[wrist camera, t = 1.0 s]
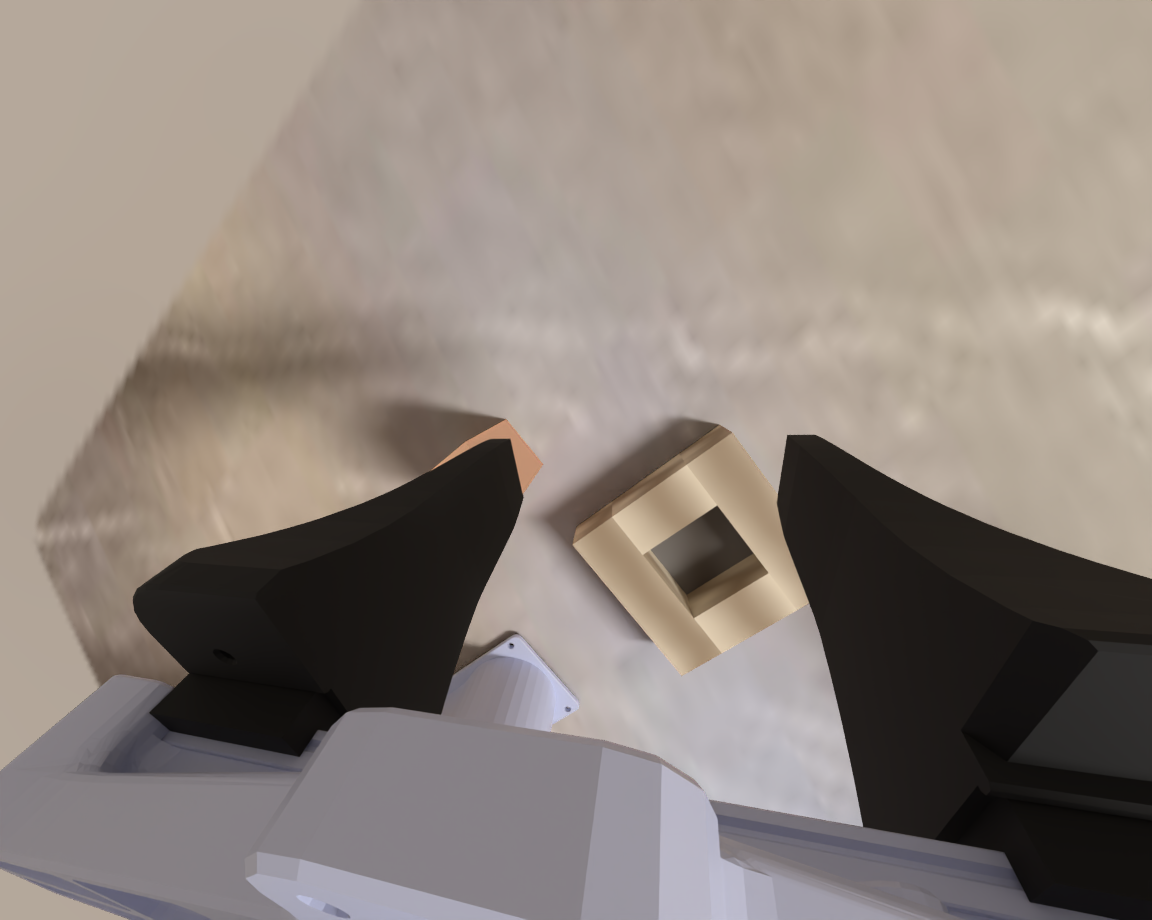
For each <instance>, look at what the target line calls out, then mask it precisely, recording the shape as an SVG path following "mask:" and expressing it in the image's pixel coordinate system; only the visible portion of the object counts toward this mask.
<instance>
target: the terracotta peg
mask: <svg viewBox="0 0 1152 920" xmlns="http://www.w3.org/2000/svg"><path fill="white" fill-rule="evenodd" d="M489 439H511V443H512V448H513V452H514V457H515V461H516V466H517V470H518V475H519V479H520V484H521V488H522V493H524V492H525V490H526V489H527V487H528V486H529V484H530V483H531V482H532V480H533V479H534V477H535V476H536V474H537V473H538V471H539V470H540V468H541V467H542V465H543V464H542V462H541V461H540V460H539V459H538V457H537V456H536V455H535V454H534V453H533V451H532V450H531V449H530V448H529V446H528V445H527V444H526V443H525V442H524V440H523V439H522V438H521V437H520V435H519V434H518V433H517V432H516V431H515V429H514V428H513V427H512V426H511V424H510V423H509V422H508V421H507V420H504V421H502V422H500V423H498V424H497V425H495V426H493V427H491V428H489V429H488V430H486V431H484V432H482V433H480V434H478V435H477V436H475V437H473V438H471V439H469V440H468V441H466V442H464V443H463V444H462V445H461V446H460V447H458V448H457V449H456V450H455V451H454V452H452V453H451V454H450V455H449V456H448V457H446V458H445V459H444V460H443V461H441V462H440V463H439V464H438V465H437V466H435V467H434V468H433V469H435V468H437V467H438V466H440V465H442V464H444V463H445V462H447V461H449V460H451V459H452V458H454V457H456V456H458V455H459V454H461V453H463V452H465V451H467V450H468V449H470V448H472V447H474V446H476V445H478V444H480V443H482V442H484V441H486V440H489ZM433 469H432V470H433Z"/></svg>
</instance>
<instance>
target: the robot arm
mask: <svg viewBox="0 0 1152 920" xmlns="http://www.w3.org/2000/svg"><path fill="white" fill-rule="evenodd" d="M523 498H524V497H523V493H522V488H521V484H520V479H519V475H518V470H517V466H516V461H515V457H514V452H513V448H512V443H511V439H489V440H486V441H484V442H482V443H480V444H478V445H476V446H474V447H472V448H470V449H468V450H467V451H465V452H463V453H461V454H459V455H458V456H456V457H454V458H452V459H451V460H449V461H447V462H445V463H444V464H442V465H440V466H438V467H437V468H435V469H433V470H431V471H429V472H427V473H425V474H423V475H421V476H420V477H418V478H416V479H414V480H412V481H410V482H408V483H406V484H404V485H402V486H400V487H398V488H396V489H394V490H392V491H390V492H388V493H385V494H383V495H381V496H378V497H376V498H374V499H371V500H369V501H367V502H364V503H362V504H359V505H357V506H354V507H351V508H348V509H345V510H343V511H340V512H337V513H334V514H331V515H329V516H326V517H323V518H320V519H317V520H314V521H311V522H307V523H304V524H301V525H297V526H294V527H290V528H287V529H283V530H279V531H276V532H272V533H268V534H264V535H260V536H256V537H251V538H247V539H242V540H238V541H233V542H228V543H224V544H219V545H215V546H210V547H205V548H200V549H196V550H193V551H191V552H189V553H187V554H185V555H183V556H182V557H181V558H179V559H178V560H176V561H175V562H174V563H172V564H171V565H169V566H168V567H167V568H165V569H164V570H162V571H161V572H160V573H158V574H157V575H155V576H154V577H153V578H151V579H150V580H148V581H147V582H146V583H144V584H143V585H142V586H140V587H139V588H137V590H136V592H135V594H134V596H133V605H134V611H135V613H136V615H137V617H138V618H139V620H140V622H141V623H142V624H143V626H144V627H145V628H146V629H147V630H148V632H149V633H150V634H151V635H152V636H153V637H154V638H155V639H156V640H157V641H158V642H159V643H160V644H161V645H162V646H163V647H164V648H165V649H166V650H167V651H168V652H169V653H170V654H171V655H172V656H173V657H174V658H175V659H176V660H177V662H178V663H179V664H180V665H181V666H182V667H183V668H184V669H185V670H186V671H187V672H188V673H189V674H188V675H187V676H186V677H185V678H184V679H183V680H182V681H181V682H180V683H179V684H178V685H177V686H176V687H175V688H174V687H172V686H170V685H168V684H166V683H165V682H162V681H158V680H154V679H148V678H142V677H135V676H129V675H123V674H119V675H114V676H112V677H111V678H110V679H109V680H108V681H107V682H105V683H104V684H103V685H102V686H101V687H99V688H98V689H97V690H96V691H95V692H94V693H92V694H91V695H90V696H89V697H88V698H86V699H85V700H84V701H83V702H82V703H80V704H79V705H78V706H77V707H76V708H74V709H73V710H72V711H71V712H70V713H68V714H67V715H66V716H65V717H64V718H63V719H61V720H60V721H59V722H58V723H57V724H55V725H54V726H53V727H52V728H51V729H49V730H48V731H47V732H46V733H45V734H43V735H42V736H41V737H40V738H39V739H37V740H36V741H35V742H34V743H33V744H32V745H30V746H29V747H28V748H27V749H26V750H24V751H23V752H22V753H21V754H20V755H18V756H17V757H16V758H15V759H14V760H13V761H11V762H10V763H9V764H8V765H7V766H6V767H4V768H3V769H2V770H1V771H0V869H2V870H4V871H7V872H9V873H11V874H13V875H16V876H18V877H20V878H22V879H25V880H27V881H29V882H31V883H34V884H36V885H38V886H40V887H43V888H45V889H47V890H49V891H52V892H54V893H56V894H59V895H62V896H65V897H68V898H71V899H73V900H77V901H79V902H82V903H85V904H88V905H91V906H93V907H96V908H99V909H102V910H104V911H107V912H110V913H113V914H115V915H118V916H121V917H124V918H127V919H129V920H1152V579H1150V578H1147V577H1143V576H1140V575H1137V574H1133V573H1130V572H1127V571H1123V570H1120V569H1117V568H1113V567H1110V566H1106V565H1103V564H1100V563H1096V562H1093V561H1090V560H1087V559H1084V558H1081V557H1078V556H1075V555H1072V554H1069V553H1066V552H1063V551H1060V550H1057V549H1054V548H1051V547H1048V546H1045V545H1043V544H1040V543H1037V542H1034V541H1032V540H1029V539H1026V538H1023V537H1020V536H1018V535H1015V534H1012V533H1009V532H1007V531H1004V530H1002V529H999V528H997V527H994V526H991V525H989V524H986V523H984V522H982V521H979V520H977V519H975V518H972V517H970V516H968V515H965V514H963V513H961V512H958V511H956V510H954V509H951V508H949V507H947V506H945V505H943V504H940V503H938V502H936V501H934V500H932V499H930V498H928V497H926V496H924V495H922V494H920V493H918V492H916V491H914V490H912V489H910V488H908V487H906V486H904V485H903V484H901V483H899V482H897V481H895V480H893V479H891V478H890V477H888V476H886V475H884V474H883V473H881V472H879V471H877V470H875V469H874V468H872V467H870V466H869V465H867V464H865V463H864V462H862V461H860V460H859V459H857V458H855V457H854V456H852V455H850V454H849V453H847V452H845V451H844V450H842V449H840V448H839V447H837V446H835V445H833V444H832V443H830V442H828V441H827V440H825V439H823V438H821V437H819V436H817V435H787V441H786V447H785V453H784V460H783V466H782V472H781V479H780V485H779V491H778V498H777V507H778V512H779V517H780V522H781V526H782V531H783V535H784V538H785V541H786V544H787V547H788V549H789V552H790V555H791V557H792V560H793V563H794V565H795V568H796V570H797V573H798V575H799V578H800V581H801V583H802V586H803V588H804V591H805V594H806V596H807V599H808V601H809V604H810V606H811V609H812V612H813V614H814V617H815V620H816V623H817V626H818V629H819V632H820V636H821V640H822V643H823V647H824V651H825V655H826V659H827V663H828V667H829V670H830V674H831V678H832V683H833V687H834V691H835V695H836V699H837V704H838V708H839V712H840V716H841V720H842V725H843V730H844V734H845V739H846V743H847V748H848V753H849V757H850V762H851V767H852V771H853V776H854V781H855V786H856V791H857V797H858V802H859V807H860V812H861V817H862V823H863V827H859V826H854V825H848V824H843V823H837V822H831V821H826V820H820V819H815V818H809V817H803V816H798V815H792V814H787V813H781V812H775V811H770V810H764V809H759V808H753V807H747V806H742V805H736V804H731V803H725V802H719V801H714V800H708V797H707V795H706V793H705V791H704V790H703V789H702V788H701V787H700V786H699V785H698V783H697V782H696V781H695V780H694V779H693V778H691V777H689V776H688V775H686V774H685V773H683V772H682V771H680V770H679V769H677V768H675V767H674V766H672V765H671V764H669V763H668V762H666V761H664V760H663V759H661V758H660V757H658V756H657V755H654V754H650V753H647V752H643V751H640V750H636V749H633V748H629V747H626V746H622V745H619V744H616V743H612V742H609V741H605V740H599V739H592V738H586V737H580V736H573V735H567V734H560V733H554V732H551V728H552V724H554V723H556V722H558V721H559V720H561V719H563V718H564V717H566V716H568V715H569V714H571V713H573V712H575V711H576V710H577V709H578V708H579V701H578V699H577V698H576V697H575V696H574V695H573V694H572V693H571V692H570V690H569V689H568V688H567V687H566V686H565V685H564V684H563V683H562V681H561V680H560V679H559V678H558V677H557V676H556V675H555V674H554V672H553V671H552V670H551V669H550V668H549V667H548V666H547V665H546V663H545V662H544V661H543V660H542V659H541V658H540V657H539V656H538V654H537V653H536V652H535V651H534V650H533V649H532V648H531V647H530V645H529V644H528V643H527V642H526V641H525V640H524V639H523V638H522V636H520V635H518V634H514V635H512V636H511V637H509V638H508V639H506V640H505V641H503V642H502V643H500V644H499V645H497V646H496V647H494V648H493V649H491V650H490V651H488V652H487V653H485V654H484V655H482V656H481V657H479V658H478V659H476V660H475V661H473V662H472V663H470V664H469V665H467V666H466V667H464V668H463V669H461V670H460V671H458V672H457V673H455V674H454V675H453V673H454V670H455V667H456V664H457V661H458V658H459V655H460V652H461V649H462V646H463V643H464V640H465V637H466V634H467V631H468V628H469V625H470V623H471V620H472V617H473V614H474V612H475V609H476V606H477V603H478V601H479V599H480V597H481V594H482V592H483V590H484V588H485V586H486V584H487V582H488V580H489V578H490V576H491V574H492V572H493V570H494V568H495V566H496V564H497V562H498V559H499V557H500V555H501V553H502V551H503V549H504V547H505V545H506V543H507V541H508V539H509V537H510V535H511V533H512V531H513V529H514V526H515V523H516V520H517V517H518V514H519V511H520V508H521V504H522V501H523ZM509 643H512V644H514V645H513V646H512V645H510V644H509ZM567 707H570V708H567Z"/></svg>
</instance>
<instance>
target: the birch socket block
mask: <svg viewBox="0 0 1152 920" xmlns="http://www.w3.org/2000/svg"><path fill="white" fill-rule="evenodd" d="M777 498H778V494H777V493H776V491H775V490H774V489H773V487H772V486H771V485H770V483H769V482H768V480H767V479H766V478H765V476H764V475H763V474H762V472H761V471H760V470H759V468H758V467H757V465H756V464H755V463H754V461H753V460H752V459H751V457H750V456H749V454H748V453H747V452H746V450H745V449H744V448H743V446H742V445H741V444H740V442H739V441H738V439H737V438H736V437H735V435H734V434H733V433H732V432H731V431H729V430H728V429H726V428H724V427H723V426H721V425H719V426H717V427H716V428H714V429H713V430H712V431H710V432H709V433H707V434H706V435H705V436H703V437H702V438H700V439H699V440H698V441H696V442H695V443H693V444H692V445H691V446H689V447H688V448H686V449H685V450H684V451H682V452H681V453H679V454H678V455H677V456H675V457H674V458H672V459H671V460H670V461H668V462H667V463H665V464H664V465H662V466H661V467H660V468H658V469H657V470H655V471H654V472H653V473H651V474H650V475H648V476H647V477H646V478H644V479H643V480H641V481H640V482H639V483H637V484H636V485H634V486H633V487H632V488H630V489H629V490H627V491H626V492H625V493H623V494H622V495H620V496H619V497H618V498H616V499H615V500H613V501H612V502H611V503H609V504H608V505H606V506H605V507H603V508H602V509H601V510H599V511H598V512H596V513H595V514H594V515H592V516H591V517H589V518H588V519H587V520H585V521H584V522H582V523H581V524H580V525H578V526H577V527H576V531H575V536H574V540H573V546H574V547H575V549H576V550H577V551H578V552H579V553H580V555H581V556H582V557H583V558H584V559H585V561H586V562H587V563H588V564H589V565H590V567H591V568H592V569H593V570H594V571H595V573H596V574H597V575H598V576H599V577H600V579H601V580H602V581H603V582H604V583H605V585H606V586H607V587H608V588H609V589H610V591H611V592H612V593H613V594H614V595H615V597H616V598H617V599H618V600H619V601H620V603H621V604H622V605H623V606H624V607H625V609H626V610H627V611H628V612H629V613H630V615H631V616H632V617H633V618H634V619H635V621H636V622H637V623H638V624H639V625H640V627H641V628H642V629H643V630H644V631H645V632H646V634H647V635H648V636H649V637H650V638H651V640H652V641H653V642H654V643H655V644H656V646H657V647H658V648H659V649H660V650H661V652H662V653H663V654H664V655H665V656H666V658H667V659H668V660H669V661H670V662H671V664H672V665H673V666H674V667H675V668H676V670H677V671H678V672H679V673H680V674H681V676H683V675H684V674H686V673H688V672H690V671H691V670H693V669H695V668H697V667H698V666H700V665H702V664H704V663H705V662H707V661H709V660H711V659H712V658H714V657H716V656H718V655H719V654H721V653H723V652H725V651H726V650H728V649H730V648H732V647H733V646H735V645H737V644H739V643H740V642H742V641H744V640H746V639H747V638H749V637H751V636H753V635H754V634H756V633H758V632H760V631H761V630H763V629H765V628H767V627H768V626H770V625H772V624H774V623H775V622H777V621H779V620H781V619H782V618H784V617H786V616H788V615H789V614H791V613H793V612H795V611H796V610H798V609H800V608H802V607H803V606H805V605H807V604H809V601H808V599H807V596H806V594H805V591H804V588H803V586H802V583H801V581H800V578H799V575H798V573H797V570H796V568H795V565H794V563H793V560H792V557H791V555H790V552H789V549H788V547H787V544H786V541H785V538H784V535H783V531H782V526H781V522H780V517H779V512H778V507H777Z"/></svg>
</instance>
